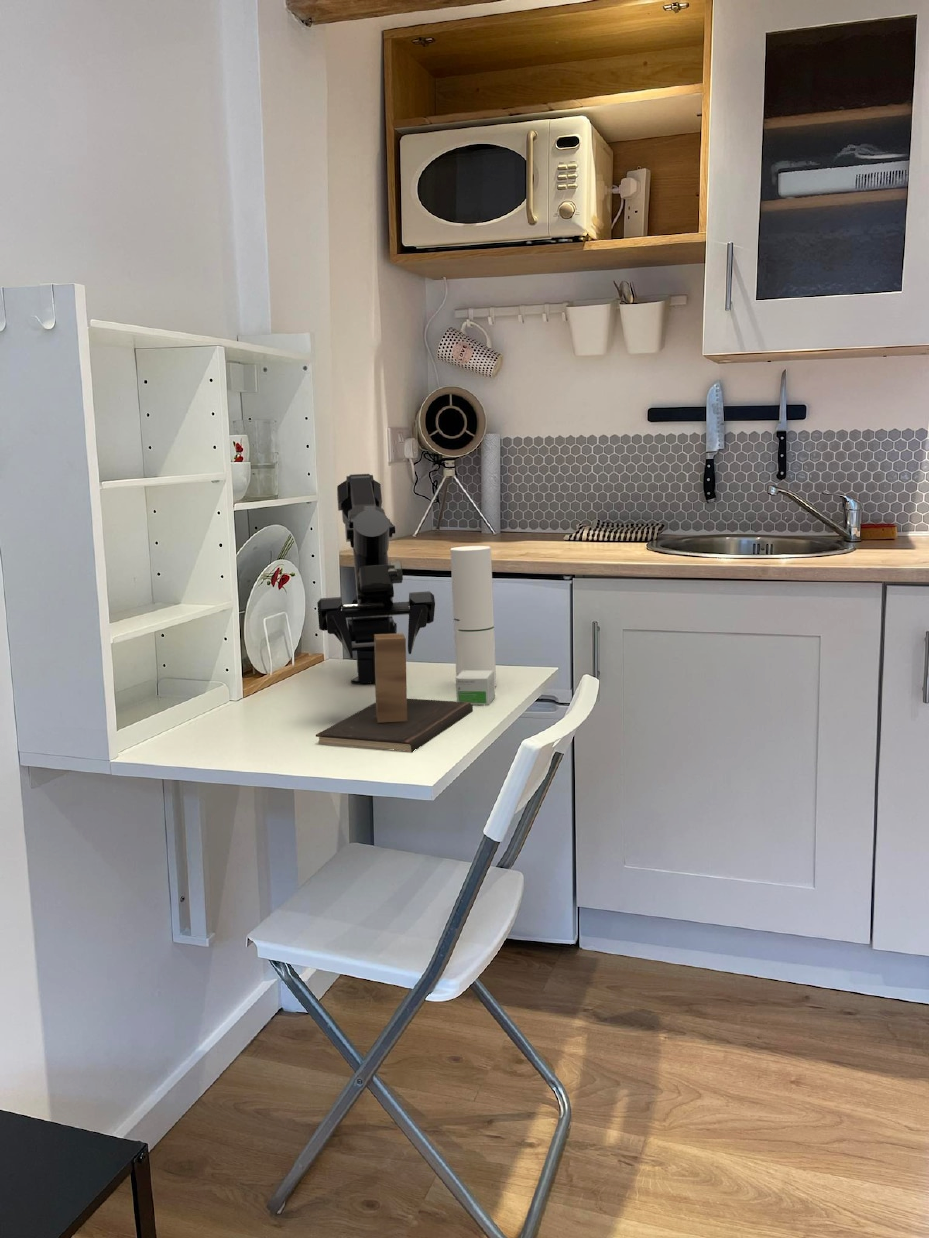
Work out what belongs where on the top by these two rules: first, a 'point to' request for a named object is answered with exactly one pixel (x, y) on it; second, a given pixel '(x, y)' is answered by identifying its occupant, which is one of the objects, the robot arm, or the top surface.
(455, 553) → the cylindrical container
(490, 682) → the small box
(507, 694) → the top surface
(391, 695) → the walnut block
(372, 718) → the hardcover book
